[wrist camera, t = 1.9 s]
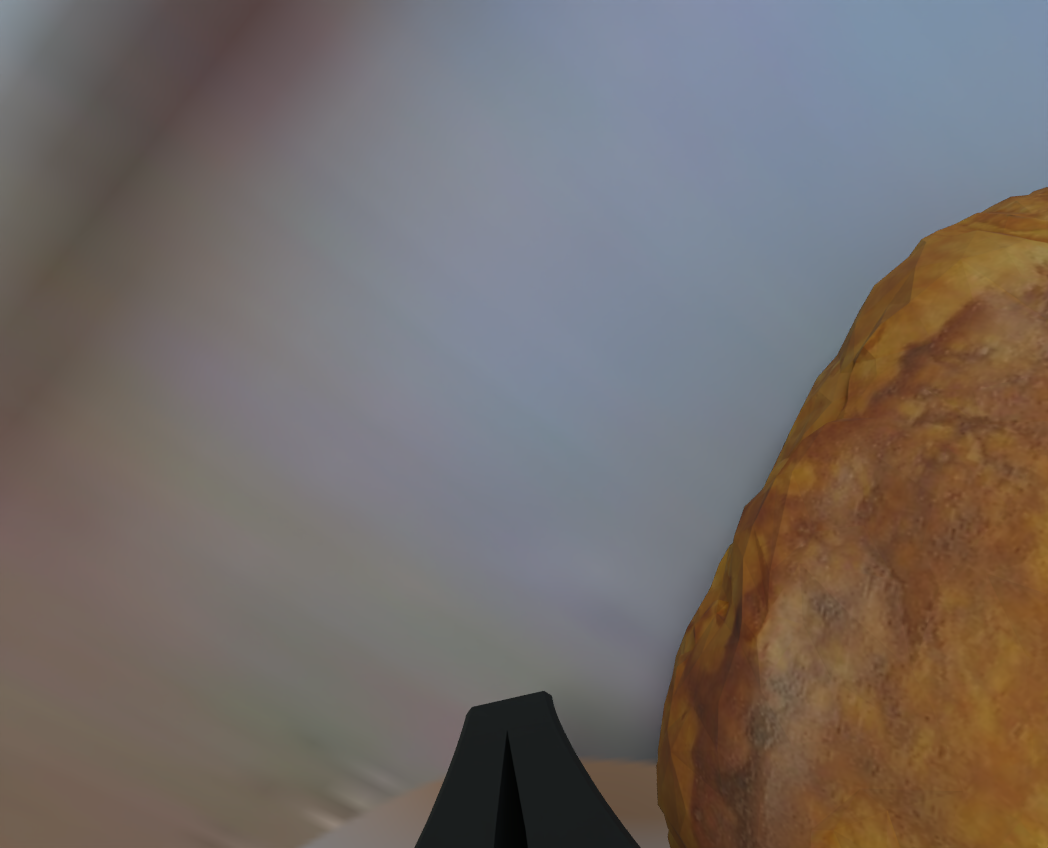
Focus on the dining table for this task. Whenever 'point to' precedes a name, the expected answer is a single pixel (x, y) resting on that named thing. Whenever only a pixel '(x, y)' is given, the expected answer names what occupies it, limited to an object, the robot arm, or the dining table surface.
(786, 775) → the croissant
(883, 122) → the dining table surface
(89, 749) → the dining table surface
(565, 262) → the dining table surface
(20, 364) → the dining table surface
